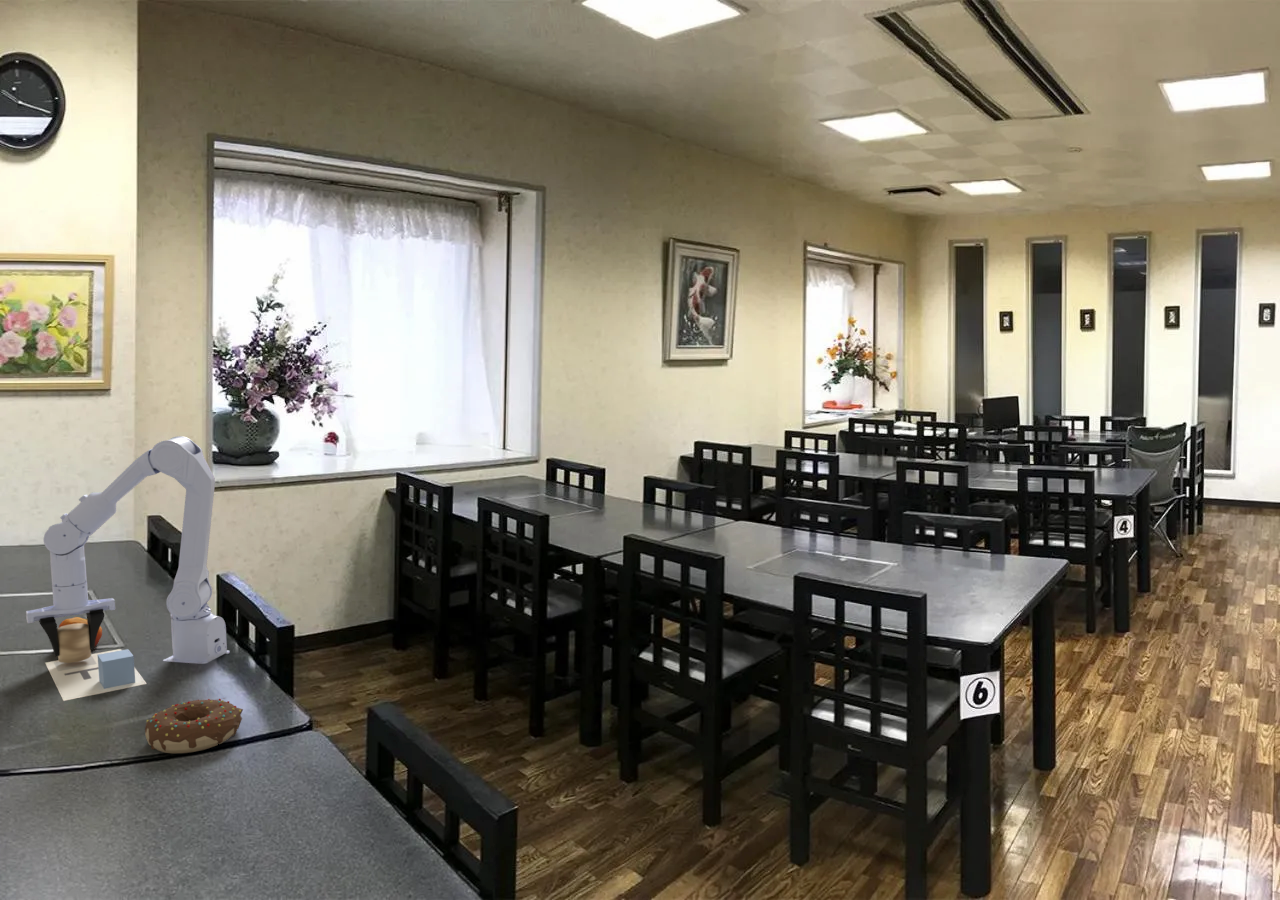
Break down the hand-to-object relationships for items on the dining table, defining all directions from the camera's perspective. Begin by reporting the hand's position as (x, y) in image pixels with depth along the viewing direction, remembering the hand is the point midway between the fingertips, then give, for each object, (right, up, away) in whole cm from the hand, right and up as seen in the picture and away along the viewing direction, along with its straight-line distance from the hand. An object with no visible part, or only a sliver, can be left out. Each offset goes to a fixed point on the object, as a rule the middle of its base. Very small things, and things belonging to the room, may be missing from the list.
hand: (74, 651), depth 178 cm
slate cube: (+14, -3, -10) cm, 17 cm away
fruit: (-5, -2, +10) cm, 11 cm away
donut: (+40, -7, -33) cm, 52 cm away
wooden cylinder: (0, -1, 0) cm, 1 cm away
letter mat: (+7, -4, -5) cm, 9 cm away
